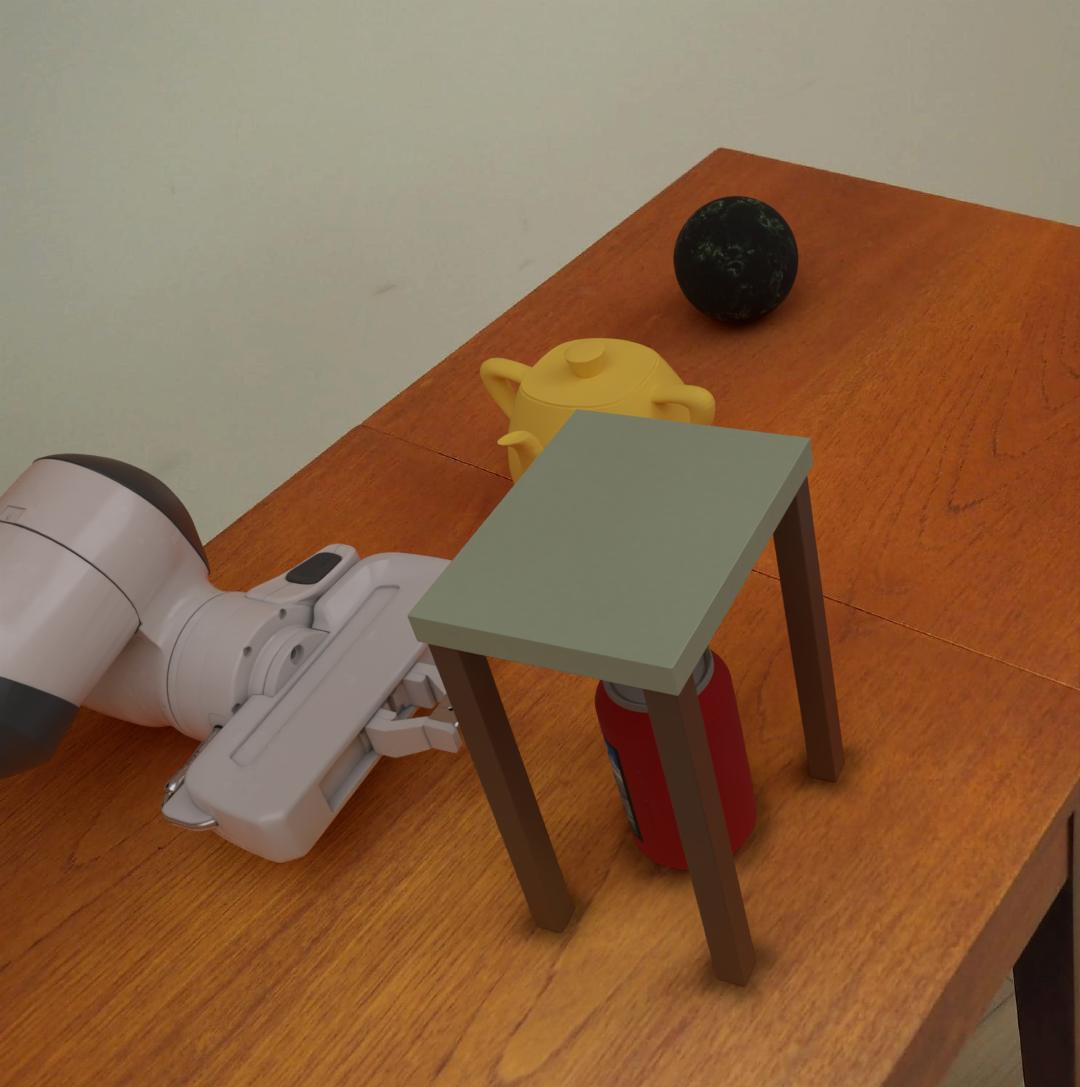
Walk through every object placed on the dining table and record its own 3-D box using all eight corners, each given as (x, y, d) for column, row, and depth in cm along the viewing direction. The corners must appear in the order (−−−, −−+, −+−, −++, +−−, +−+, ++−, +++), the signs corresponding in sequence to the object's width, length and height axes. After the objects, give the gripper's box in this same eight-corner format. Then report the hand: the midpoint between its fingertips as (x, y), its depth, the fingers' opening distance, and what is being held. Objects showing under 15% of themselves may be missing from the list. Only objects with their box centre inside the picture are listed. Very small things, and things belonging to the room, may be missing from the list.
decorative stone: (659, 328, 114) (637, 218, 107) (736, 274, 119) (719, 165, 113) (753, 358, 108) (735, 243, 102) (828, 299, 113) (816, 187, 107)
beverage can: (668, 765, 76) (628, 605, 69) (779, 795, 73) (750, 632, 66) (610, 859, 72) (560, 699, 64) (726, 895, 69) (688, 732, 61)
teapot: (491, 478, 100) (448, 338, 93) (673, 417, 103) (645, 276, 96) (541, 587, 90) (496, 439, 82) (742, 514, 93) (716, 365, 85)
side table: (748, 993, 65) (671, 668, 51) (528, 929, 69) (406, 615, 56) (851, 759, 75) (810, 437, 61) (654, 717, 79) (576, 408, 66)
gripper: (116, 773, 69) (337, 836, 64) (349, 524, 83) (547, 559, 78) (165, 852, 73) (377, 918, 68) (380, 602, 87) (570, 640, 82)
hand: (469, 723), depth 73 cm, fingers closed
